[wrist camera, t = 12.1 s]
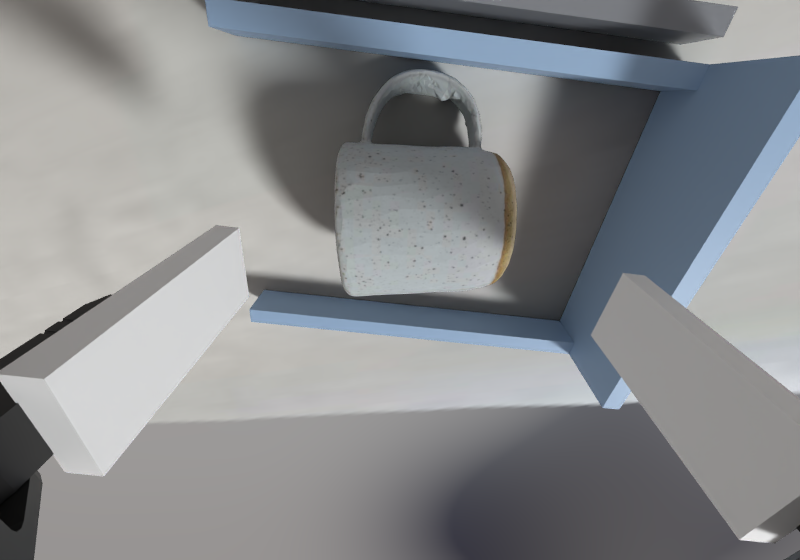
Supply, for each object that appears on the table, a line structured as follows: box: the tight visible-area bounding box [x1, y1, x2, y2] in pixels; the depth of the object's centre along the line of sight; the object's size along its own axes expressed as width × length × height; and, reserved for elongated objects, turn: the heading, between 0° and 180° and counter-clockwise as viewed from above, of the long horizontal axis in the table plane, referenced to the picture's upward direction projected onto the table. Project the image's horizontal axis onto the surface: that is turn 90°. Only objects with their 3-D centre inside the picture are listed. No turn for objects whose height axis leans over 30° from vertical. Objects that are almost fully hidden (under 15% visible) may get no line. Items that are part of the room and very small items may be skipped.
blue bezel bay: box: [205, 0, 800, 409], centre depth 17 cm, size 23×17×7 cm
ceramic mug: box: [334, 69, 517, 296], centre depth 16 cm, size 11×8×8 cm
